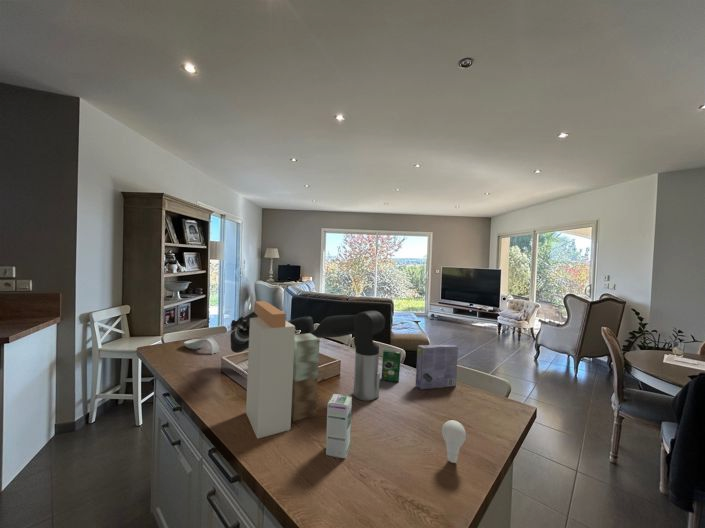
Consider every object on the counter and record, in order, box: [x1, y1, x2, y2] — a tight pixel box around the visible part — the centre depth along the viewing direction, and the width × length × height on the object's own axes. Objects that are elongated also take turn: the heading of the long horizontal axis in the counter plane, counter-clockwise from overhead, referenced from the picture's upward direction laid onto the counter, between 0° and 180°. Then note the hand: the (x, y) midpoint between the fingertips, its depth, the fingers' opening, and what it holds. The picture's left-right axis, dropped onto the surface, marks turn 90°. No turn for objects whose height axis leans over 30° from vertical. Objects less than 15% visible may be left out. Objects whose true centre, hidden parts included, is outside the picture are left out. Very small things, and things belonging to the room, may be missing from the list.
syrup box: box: [325, 393, 353, 460], centre depth 81 cm, size 6×6×14 cm
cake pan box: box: [415, 344, 459, 390], centre depth 127 cm, size 19×5×18 cm, turn 108°
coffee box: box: [380, 349, 402, 383], centre depth 131 cm, size 8×3×13 cm, turn 79°
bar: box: [253, 300, 287, 328], centre depth 98 cm, size 26×4×4 cm, turn 30°
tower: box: [291, 333, 321, 422], centre depth 100 cm, size 8×8×26 cm
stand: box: [245, 317, 296, 439], centre depth 94 cm, size 10×16×32 cm, turn 31°
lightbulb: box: [441, 419, 467, 464], centre depth 79 cm, size 6×6×11 cm
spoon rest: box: [183, 337, 220, 355], centre depth 160 cm, size 24×12×7 cm, turn 61°
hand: (253, 318), depth 115 cm, fingers open, 8 cm apart
